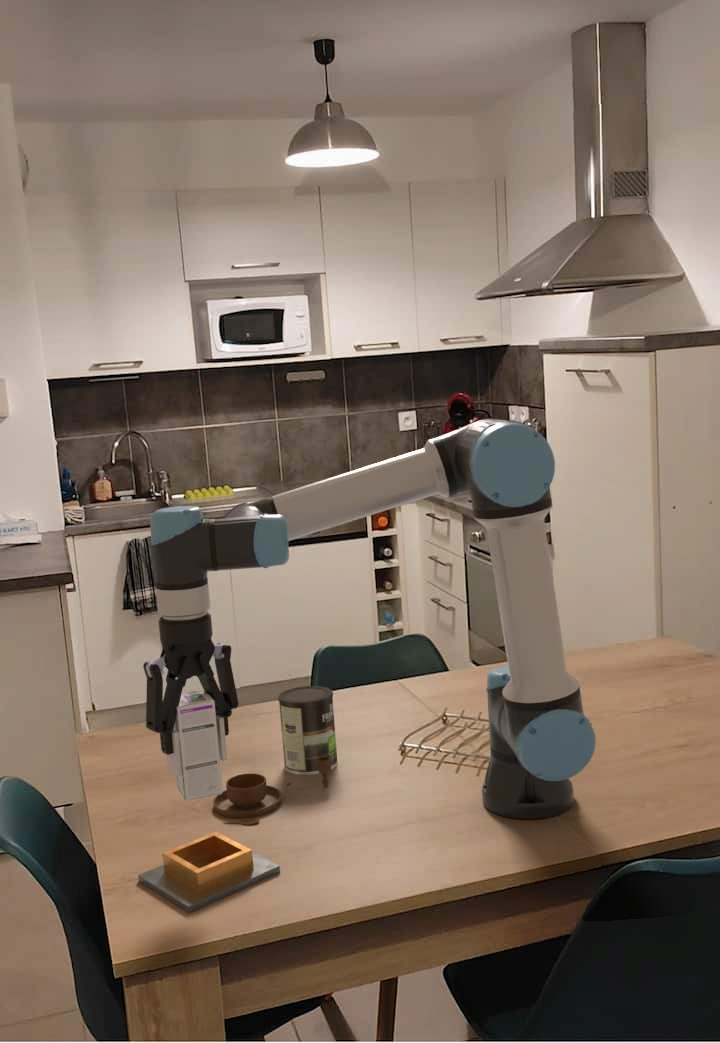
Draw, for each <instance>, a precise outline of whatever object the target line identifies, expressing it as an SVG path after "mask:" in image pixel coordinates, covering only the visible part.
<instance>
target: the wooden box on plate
mask: <svg viewBox="0 0 720 1043" xmlns="http://www.w3.org/2000/svg"><path fill="white" fill-rule="evenodd" d="M161 855H162V862H163V864H161V865H159V866H156V867H154V868H152V869H149V870H147V871H145V872H142V873H139V874H138V876H137V877H138V878H137V879H138V882H139V883H141V884H142V885H144V886H146V887H147V888H149V889H150V890H152V891H153V892H155V893H156V894H158V895H159V896H162V898H165V899H166V900H168V901H169V902H171V903H173V904H174V905H176V906H177V907H179V908H180V909H182V910H183V911H185V912H186V913H188V914H190V913H192V912H195V911H197V910H200V909H201V908H203V907H206V906H208V905H210V904H212V903H215V902H216V901H219V900H222V899H223V898H226V897H228V896H231V895H232V894H235V893H237V892H239V891H242V890H243V889H245V888H248V887H251V886H252V885H255V884H256V883H259V882H262V881H263V880H266V879H268V878H271V877H272V876H274V875H277V874H279V873H281V867H280V865H279V864H277V863H275V862H273V861H271V860H269V859H267V858H265V857H264V856H262V855H260V854H258V853H256V852H253V850H252V849H251V848H249V847H247V846H245V845H243V844H241V843H239V842H237V841H236V840H234V839H232V838H229V837H227V836H226V835H223V834H221V833H220V832H217V831H213V832H212V833H209V834H206V835H204V836H202V837H199V838H196V839H195V840H191V841H189V842H187V843H184V844H182V845H179V846H177V847H174V848H172V849H169V850H166V851H164V852H162V854H161Z"/></svg>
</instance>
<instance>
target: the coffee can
mask: <svg viewBox="0 0 720 1043" xmlns="http://www.w3.org/2000/svg"><path fill="white" fill-rule="evenodd" d="M333 696H334V692H333V690H332V689H330V688H329V687H326V686H319V685H308V686H307V685H305V686H297V687H292V688H289V689H286V690H284V691H282V692H280V693H279V694H278V696H277V700H278V703H279V713H280V714H279V717H280V728H281V740H282V749H283V760H284V761H283V762H284V763H283V764H284V765H283V767H284V770H285V772H287V773H289V774H292V775H297V776H314V775H315V776H316V775H321V774H320V773H319V771H318V766H317V758H319V757H322V756H328V757H330V758H331V771H332V770H334V769H335V768H336V767H337V766H338V764H339V761H338V753H337V738H336V727H335V725H336V724H335V711H334V699H333Z"/></svg>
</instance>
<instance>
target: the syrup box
mask: <svg viewBox="0 0 720 1043" xmlns="http://www.w3.org/2000/svg"><path fill="white" fill-rule="evenodd" d="M173 730H175V731H178V732H179V742H180V753H181V764H182V775H181V776H176V782H177V784H176V785H177V789H178V790H179V792H180V794H181V795H182V796H183V798H184V800H185V801H194V800H200V799H205V798H210V797H214V796H215V797H216V796H217V795H219V794H222V792H223V785H222V784H223V783H222V782H223V781H222V770H221V768H222V767H221V760H220V755H219V744H218V734H217V723H216V713H215V701H214V700H213V699H212V698H211V697H210V696H209V695H208V693H206V692H205V691H204V690H198V691H197V690H194V691H189V692H184V693H183V692H182V693H181V698H180V702H179V706H177V716H176V720H175V725H174V729H173Z"/></svg>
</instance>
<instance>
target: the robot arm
mask: <svg viewBox="0 0 720 1043" xmlns="http://www.w3.org/2000/svg"><path fill="white" fill-rule="evenodd" d="M555 471H556V462H555V456H554V452H553V449H552V448H551V446H550V444H549V442H548V441H547V439H546V438H545V437H544V436H543V434H541V433H540V432H539V431H537V430H536V429H535V428H533V427H532V426H530V425H528V424H526V423H524V422H522V421H516V420H504V419H502V418H501V419H500V418H484V419H480V420H478V421H474V422H471V423H469V424H467V425H465V426H462V427H460V428H458V429H456V430H452V431H450V432H448V433H445V434H442V435H440V436H437V437H435V438H434V437H432V438H430V439H427V440H426V443H425V444H424V446H423V447H422V448H421V449H418V450H415V451H411V452H407V453H404V454H402V455H398V456H396V457H391V458H388V459H386V460H383V461H380V462H377V463H372V464H370V465H366V466H363V467H360V468H357V469H355V470H354V469H353V470H351V471H348V472H345V473H342V474H339V475H335V476H332V477H329V478H326V479H322V480H320V481H315V482H312V483H309V484H306V485H303V486H300V487H296V488H294V489H291V490H287V491H284V492H281V493H278V494H275V495H272V496H270V497H266V498H262V499H260V500H257V501H253V502H252V501H249V502H248V501H245V502H240V503H238V504H236V505H234V506H233V507H232V508H231V509H229V510H228V512H227V513H226V514H225V516H224V517H223V518H222V517H221V518H211V519H210V518H204V515H203V511H202V509H201V508H200V507H199V506H197V505H194V506H193V505H187V506H185V505H178V506H170V507H163V508H158V509H157V510H155V511H154V512H152V514H151V515H150V518H149V525H150V526H149V527H150V529H149V530H150V548H151V557H152V558H151V559H152V567H153V574H154V576H153V577H154V585H155V594H156V595H155V596H156V606H157V607H156V608H157V613H158V615H160V617H159V619H158V630H159V641H160V643H161V653H160V656H159V658H158V659H156V660H154V661H152V662H150V661H145V662H144V663H143V671H144V674H145V676H146V699H145V700H146V709H145V710H146V711H145V712H146V713H145V727H146V729H148V730H150V731H153V732H155V733H157V734H158V733H159V739H160V740H159V741H160V749H161V750H160V751H161V752H162V754H165V755H166V761H167V772H168V773H169V774H172V775H174V776H176V777H177V776H181V775H182V764H181V753H180V742H179V732H178V731H175V730H173V729H174V725H175V720H176V716H177V706H179V702H180V698H181V694H183V688H184V687H185V686H186V684H187V680H188V679H191V678H192V677H197V678H198V680H199V682H200V685H201V686H202V689H203V691H205V692H206V693H208V695H209V696H210V697H211V698H212V699H213V700H214V701H215V713H216V723H217V734H218V744H219V755H220V761H226V760H228V754H227V752H228V751H227V741H226V736H229V732H230V728H229V717H231V716H232V715H233V710H234V709H237V708H238V707H239V699H238V693H237V688H236V684H235V679H234V678H235V677H234V673H233V668H232V662H231V658H232V657H231V655H232V646H231V645H228V644H225V643H221V642H218V643H216V644H214V642H213V640H212V637H213V625H212V615H211V614H210V613H209V610H210V609H211V600H210V589H209V581H208V579H209V578H208V572H218V571H228V570H230V571H231V570H242V569H258V568H259V569H260V568H263V569H268V568H269V567H270V568H271V567H274V566H275V567H277V566H283V565H285V564H287V563H288V561H289V558H290V551H289V549H290V548H289V542H290V541H293V540H295V539H299V538H302V537H305V536H309V535H312V534H315V533H318V532H321V531H325V530H328V529H331V528H334V527H338V526H340V525H344V524H348V523H351V522H354V521H356V520H360V519H363V518H366V517H369V516H370V517H371V516H372V515H376V514H379V513H382V512H384V511H388V510H391V509H394V508H397V507H401V506H404V505H407V504H410V503H413V502H416V501H420V500H423V499H425V498H429V497H433V496H435V495H439V496H440V497H443V498H445V499H448V498H450V497H454V496H457V495H460V494H461V495H462V494H470V502H471V506H472V514H473V518H474V520H475V521H477V522H478V523H479V524H481V525H482V526H483V527H484V528H485V529H486V530H485V531H486V534H487V541H488V546H489V547H488V548H489V553H490V560H491V567H492V573H493V580H494V584H495V591H496V592H495V593H496V598H497V604H498V609H499V611H498V612H499V617H500V621H501V630H502V635H503V642H504V649H505V654H506V660H507V665H505V666H500V667H496V668H494V669H492V670H490V672H488V674H487V676H486V677H487V678H486V687H485V690H486V692H487V693H486V695H487V696H486V697H487V711H488V728H489V729H488V730H489V732H488V733H489V746H490V748H489V749H490V757H489V763H488V766H487V770H486V773H485V777H484V782H483V783H482V788H481V793H482V794H481V795H482V799H481V800H482V804H483V805H484V807H485V808H486V809H487V810H489V811H490V812H492V813H493V814H496V815H499V816H502V817H506V818H511V819H519V820H537V819H544V818H545V819H547V818H550V817H554V816H557V815H560V814H562V813H564V812H567V811H568V810H569V809H571V807H572V806H573V804H574V802H575V801H574V800H575V797H574V796H575V795H574V793H575V792H574V787H573V783H572V781H571V780H570V778H573V777H575V776H577V775H578V774H580V773H581V772H582V771H583V770H584V769H585V767H586V766H587V765H588V764H589V763H590V762H591V760H592V758H593V755H594V753H595V750H596V747H597V746H596V743H597V741H596V740H597V739H596V734H595V730H594V728H593V726H592V723H591V721H590V720H589V718H588V717H586V716H585V714H584V708H583V707H584V706H583V701H582V700H583V699H582V695H581V689H580V682H579V680H578V679H577V678H576V677H574V676H573V675H572V674H570V673H569V672H568V669H567V662H566V657H565V651H564V644H563V643H564V642H563V638H562V637H563V636H562V631H561V622H560V617H559V616H560V615H559V609H558V603H557V597H556V590H555V583H554V578H553V575H554V574H553V569H552V564H551V563H552V562H551V557H550V556H551V555H550V550H549V544H548V537H547V531H546V529H547V528H546V523H545V518H546V517H547V516H548V514H549V513H550V511H551V510H552V508H553V500H552V491H551V484H552V483H553V479H554V476H555V473H556V472H555ZM212 658H214V664H215V669H216V674H217V680H218V683H217V681H216V678H215V677H214V675H215V674H214V671H213V669H212V666H211V664H210V662H211V659H212ZM164 668H166V669H167V674H166V678H165V682H166V687H165V690H164V680H163V675H164V673H165V671H164ZM218 684H219V685H218Z"/></svg>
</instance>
